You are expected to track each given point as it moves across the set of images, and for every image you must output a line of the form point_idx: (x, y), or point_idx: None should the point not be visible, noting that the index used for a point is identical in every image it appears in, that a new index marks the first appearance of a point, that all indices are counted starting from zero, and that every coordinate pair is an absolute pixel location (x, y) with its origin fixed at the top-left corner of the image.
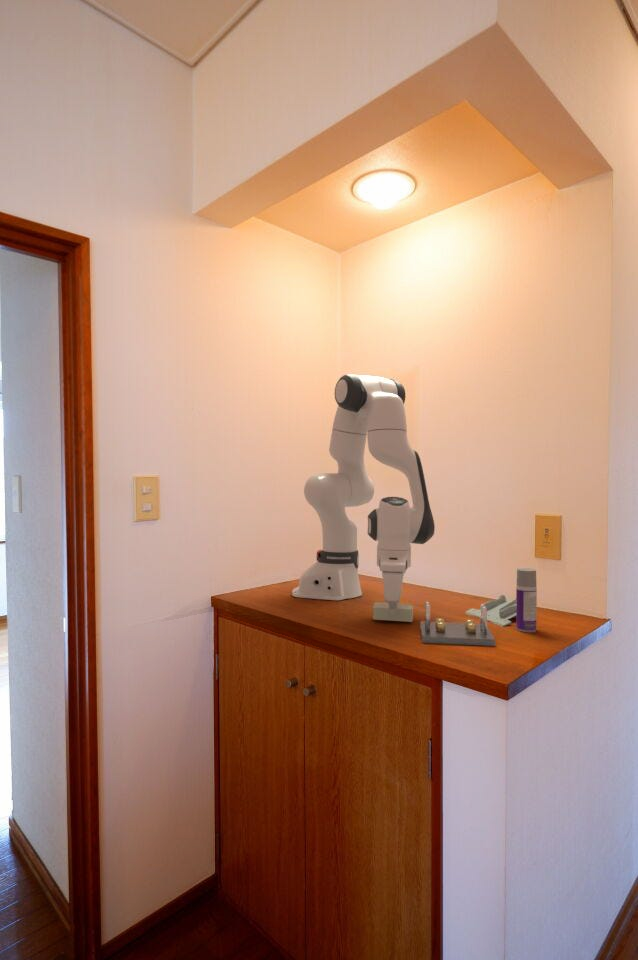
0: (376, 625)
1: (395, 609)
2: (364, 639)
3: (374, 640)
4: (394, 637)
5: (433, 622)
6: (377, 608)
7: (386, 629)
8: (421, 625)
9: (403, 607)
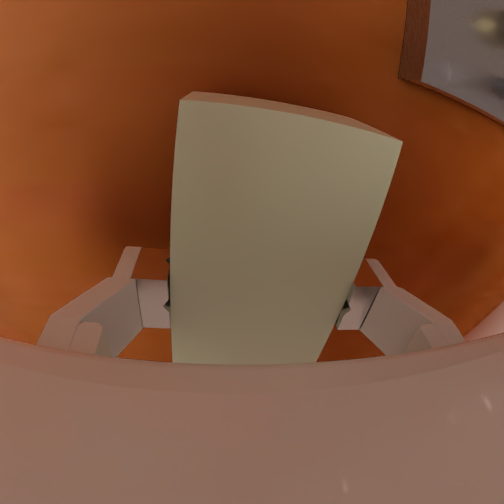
0: None
1: (392, 289)
2: (467, 324)
3: (486, 299)
4: (493, 241)
5: (447, 6)
6: None
7: (403, 268)
8: (493, 111)
9: (322, 220)
